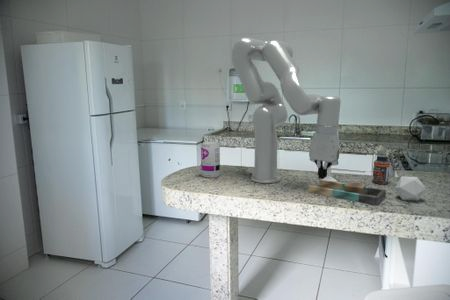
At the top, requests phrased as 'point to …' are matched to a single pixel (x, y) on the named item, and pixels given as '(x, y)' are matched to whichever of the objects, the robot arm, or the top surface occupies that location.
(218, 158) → the supplement can
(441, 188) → the top surface
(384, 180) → the supplement bottle
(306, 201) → the top surface
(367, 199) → the tray
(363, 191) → the walnut block
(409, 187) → the die
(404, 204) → the top surface
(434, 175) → the top surface
